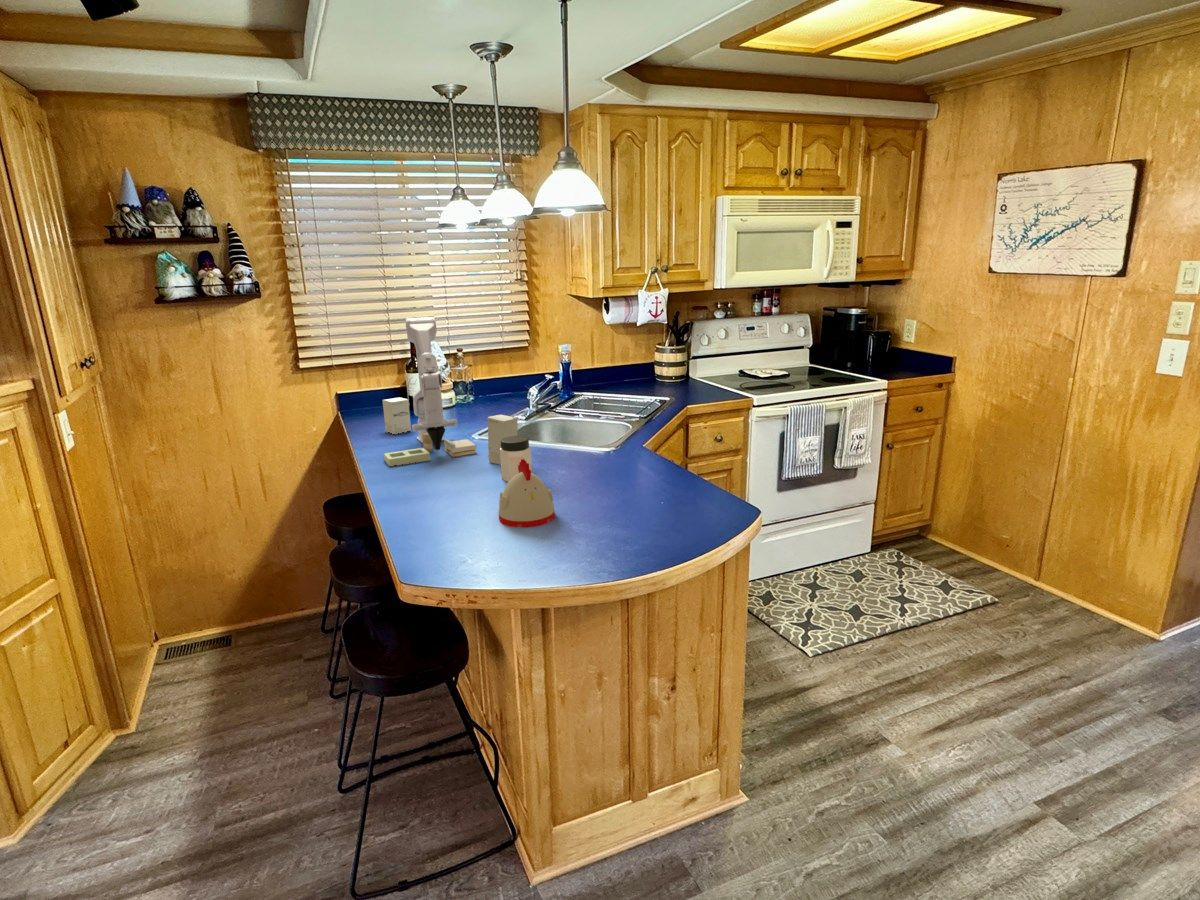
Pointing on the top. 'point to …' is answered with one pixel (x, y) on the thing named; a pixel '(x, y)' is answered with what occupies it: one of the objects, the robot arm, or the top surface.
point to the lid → (459, 445)
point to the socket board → (406, 456)
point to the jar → (514, 455)
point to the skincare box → (499, 434)
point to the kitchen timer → (525, 500)
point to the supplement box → (396, 415)
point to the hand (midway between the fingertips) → (437, 449)
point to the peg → (427, 442)
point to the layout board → (460, 452)
